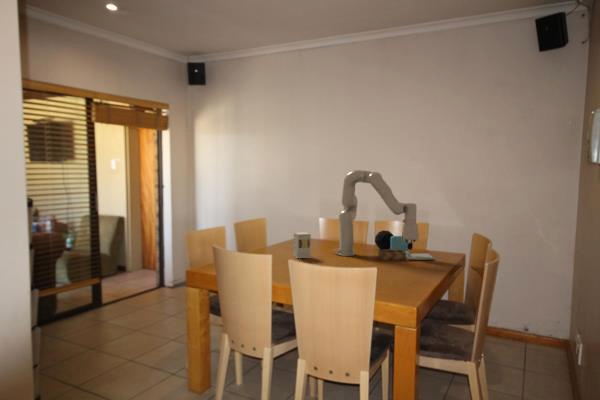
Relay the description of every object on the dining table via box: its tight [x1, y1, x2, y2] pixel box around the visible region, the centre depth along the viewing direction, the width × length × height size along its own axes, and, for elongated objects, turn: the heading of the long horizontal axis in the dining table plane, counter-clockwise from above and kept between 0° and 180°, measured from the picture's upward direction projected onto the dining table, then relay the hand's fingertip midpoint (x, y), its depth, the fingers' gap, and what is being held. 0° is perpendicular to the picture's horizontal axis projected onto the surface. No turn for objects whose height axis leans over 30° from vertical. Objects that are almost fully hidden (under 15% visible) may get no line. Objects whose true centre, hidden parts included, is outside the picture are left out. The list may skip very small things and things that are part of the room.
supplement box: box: [293, 231, 312, 260], centre depth 285 cm, size 10×9×17 cm
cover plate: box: [405, 251, 434, 261], centre depth 280 cm, size 16×13×5 cm
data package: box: [389, 235, 410, 253], centre depth 298 cm, size 12×4×12 cm, turn 93°
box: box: [377, 249, 407, 261], centre depth 280 cm, size 16×11×5 cm
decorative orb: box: [374, 229, 394, 250], centre depth 312 cm, size 14×15×15 cm
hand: (410, 249), depth 280 cm, fingers closed
